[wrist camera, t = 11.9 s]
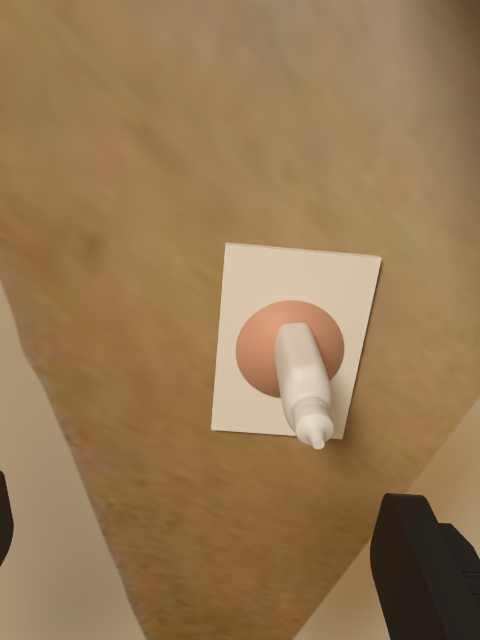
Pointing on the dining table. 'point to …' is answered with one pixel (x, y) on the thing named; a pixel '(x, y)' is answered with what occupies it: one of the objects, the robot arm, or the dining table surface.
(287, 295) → the card
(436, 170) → the dining table surface
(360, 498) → the dining table surface
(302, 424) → the eye dropper bottle
